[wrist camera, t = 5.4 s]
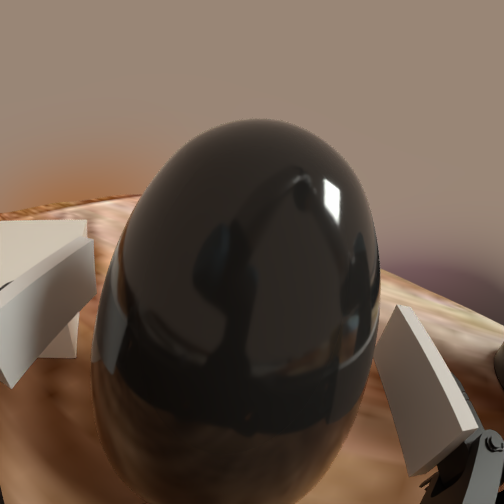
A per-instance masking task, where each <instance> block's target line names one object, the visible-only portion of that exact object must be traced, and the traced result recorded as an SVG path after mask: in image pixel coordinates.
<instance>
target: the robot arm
mask: <svg viewBox="0 0 504 504" xmlns="http://www.w3.org/2000/svg"><path fill="white" fill-rule="evenodd" d="M96 294H97V291H96V279H95V264H94V240H93V239H90V238H86V237H82V236H79V237H78V238H76V239H74V240H73V241H71V242H70V243H68V244H66V245H65V246H63V247H62V248H60V249H59V250H57V251H56V252H54V253H53V254H51V255H50V256H48V257H47V258H45V259H44V260H42V261H41V262H39V263H38V264H36V265H35V266H33V267H32V268H31V269H29V270H28V271H26V272H25V273H23V274H22V275H21V276H19V277H18V278H17V279H15V280H13V281H11V282H8V283H6V284H5V285H3V286H2V287H1V288H0V381H1V382H2V383H3V384H5V385H6V386H8V387H9V388H10V389H12V388H13V387H14V386H15V384H16V383H17V382H18V381H19V379H20V378H21V377H22V376H23V374H24V373H25V372H26V371H27V370H28V368H29V367H30V366H31V365H32V364H33V362H34V361H35V360H36V359H37V358H38V357H39V355H40V354H41V353H42V352H43V351H44V350H45V348H46V347H47V346H48V345H49V344H50V343H51V342H52V341H53V339H54V338H55V337H56V336H57V335H58V334H59V333H60V332H61V331H62V329H63V328H64V327H65V326H66V325H67V324H68V323H69V322H70V321H71V320H72V319H73V318H74V317H75V316H76V314H77V313H78V312H79V311H80V310H81V309H82V308H83V307H84V306H85V305H86V304H87V303H88V302H89V301H90V300H91V299H92V298H93V297H94V296H95V295H96ZM373 358H374V361H375V364H376V366H377V369H378V372H379V375H380V378H381V381H382V384H383V387H384V390H385V393H386V396H387V400H388V403H389V406H390V409H391V413H392V416H393V419H394V423H395V426H396V429H397V433H398V437H399V440H400V444H401V448H402V451H403V455H404V459H405V463H406V467H407V471H408V475H409V477H412V476H417V475H422V474H426V473H427V472H429V471H430V470H431V469H432V468H434V467H435V466H436V465H437V467H438V470H439V471H438V472H436V473H435V474H434V475H432V476H431V477H430V478H428V479H427V480H425V481H424V482H423V483H422V484H421V485H420V486H419V487H421V488H422V487H423V486H425V485H426V484H428V483H429V482H430V484H429V486H428V487H426V488H425V489H424V490H426V493H425V495H424V497H423V499H422V501H421V503H420V504H504V490H503V491H501V492H498V489H499V486H501V485H502V484H503V483H504V441H503V439H502V437H501V436H500V435H499V434H498V433H497V432H496V431H494V430H491V429H490V430H484V428H483V426H482V424H481V421H480V419H479V417H478V415H477V413H476V411H475V409H474V407H473V405H472V403H471V401H469V397H468V395H467V394H466V393H465V390H464V388H463V386H462V384H461V382H460V381H459V380H458V379H457V378H456V377H455V376H454V374H453V373H452V372H450V370H449V369H448V367H447V365H446V363H445V362H444V360H443V358H442V356H441V355H440V353H439V351H438V350H437V348H436V346H435V345H434V343H433V341H432V340H431V338H430V336H429V335H428V333H427V332H426V330H425V328H424V327H423V325H422V324H421V322H420V320H419V319H418V317H417V316H416V314H415V313H414V311H413V310H412V308H411V307H408V306H402V305H396V307H395V310H394V312H393V314H392V316H391V318H390V320H389V322H388V324H387V326H386V328H385V330H384V331H383V333H382V335H381V337H380V339H379V341H378V343H377V345H376V346H375V349H374V354H373ZM494 365H495V370H496V373H497V376H498V378H499V381H500V383H501V385H502V386H503V388H504V342H503V344H502V345H501V347H500V348H499V350H498V352H497V353H496V355H495V358H494ZM0 504H4V500H3V496H2V492H1V487H0Z"/></svg>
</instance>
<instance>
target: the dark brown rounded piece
mask: <svg viewBox="0 0 504 504" xmlns="http://www.w3.org/2000/svg"><path fill="white" fill-rule="evenodd" d="M380 293H381V277H380V261H379V250H378V244H377V237H376V232H375V227H374V222H373V218H372V214H371V210H370V207H369V204H368V200H367V198H366V195H365V192H364V189H363V187H362V185H361V183H360V181H359V179H358V177H357V175H356V174H355V172H354V170H353V169H352V168H351V166H350V165H349V164H348V162H347V161H346V160H345V159H344V158H343V157H342V156H341V155H340V154H339V153H338V152H337V151H336V150H335V149H334V148H333V147H332V146H331V145H329V144H328V143H327V142H326V141H324V140H323V139H322V138H320V137H319V136H317V135H315V134H314V133H312V132H310V131H308V130H306V129H304V128H301V127H299V126H296V125H294V124H291V123H288V122H285V121H282V120H274V119H245V120H238V121H232V122H229V123H225V124H221V125H219V126H216V127H213V128H211V129H209V130H207V131H204V132H202V133H201V134H199V135H197V136H195V137H194V138H192V139H191V140H189V141H188V142H187V143H185V144H184V145H183V146H182V147H181V148H180V149H179V150H178V151H177V152H176V153H175V154H174V155H173V156H172V157H171V158H170V159H169V160H168V161H167V162H166V163H165V165H164V166H163V167H162V168H161V170H160V171H159V172H158V173H157V175H156V176H155V177H154V179H153V180H152V181H151V183H150V184H149V186H148V187H147V189H146V190H145V192H144V193H143V194H142V196H141V198H140V199H139V201H138V203H137V204H136V206H135V208H134V210H133V211H132V213H131V215H130V217H129V219H128V221H127V223H126V225H125V227H124V230H123V232H122V234H121V236H120V239H119V241H118V243H117V246H116V248H115V251H114V254H113V256H112V259H111V262H110V265H109V268H108V271H107V275H106V278H105V282H104V285H103V289H102V293H101V297H100V301H99V306H98V311H97V316H96V321H95V327H94V333H93V340H92V349H91V362H90V386H91V399H92V407H93V414H94V420H95V425H96V430H97V433H98V437H99V440H100V443H101V445H102V448H103V450H104V452H105V455H106V457H107V459H108V460H109V462H110V464H111V466H112V467H113V469H114V470H115V472H116V473H117V475H118V476H119V477H120V478H121V480H122V481H123V482H124V483H125V484H126V485H127V486H128V487H129V488H130V489H131V490H132V491H133V492H134V493H135V494H136V495H138V496H139V497H140V498H141V499H143V500H144V501H145V502H147V503H148V504H295V503H297V502H298V501H299V500H301V499H302V498H303V497H304V496H305V495H307V494H308V493H309V492H310V491H311V490H312V489H313V488H314V487H315V486H316V485H317V484H318V482H319V481H320V480H321V479H322V478H323V476H324V475H325V473H326V472H327V471H328V469H329V468H330V466H331V465H332V463H333V461H334V460H335V458H336V457H337V455H338V453H339V451H340V450H341V448H342V446H343V444H344V442H345V440H346V438H347V436H348V434H349V432H350V430H351V428H352V425H353V423H354V421H355V418H356V416H357V413H358V410H359V407H360V404H361V401H362V398H363V395H364V391H365V388H366V384H367V380H368V376H369V372H370V368H371V364H372V359H373V354H374V349H375V344H376V338H377V331H378V324H379V314H380Z"/></svg>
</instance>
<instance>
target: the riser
mask: <svg viewBox="0 0 504 504" xmlns="http://www.w3.org/2000/svg"><path fill="white" fill-rule="evenodd" d="M79 236H82V237H86V238H87V220H22V221H0V288H1V287H2V286H3V285H5V284H6V283H8V282H11V281H13V280H15V279H17V278H18V277H19V276H21V275H22V274H23V273H25V272H26V271H28V270H29V269H31V268H32V267H33V266H35V265H36V264H38V263H39V262H41V261H42V260H44V259H45V258H47V257H48V256H50V255H51V254H53V253H54V252H56V251H57V250H59V249H60V248H62V247H63V246H65V245H66V244H68V243H70V242H71V241H73V240H74V239H76V238H78V237H79ZM78 321H79V312H78V313H77V314H76V316H75V317H74V318H73V319H72V320H71V321H70V322H69V323H68V324H67V325H66V326H65V327H64V328H63V329H62V331H61V332H60V333H59V334H58V335H57V336H56V337H55V338H54V339H53V341H52V342H51V343H50V344H49V345H48V346H47V347H46V348H45V350H44V351H43V352H42V353H41V354H40V355H39V357H38V358H76V351H77V333H78Z"/></svg>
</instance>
